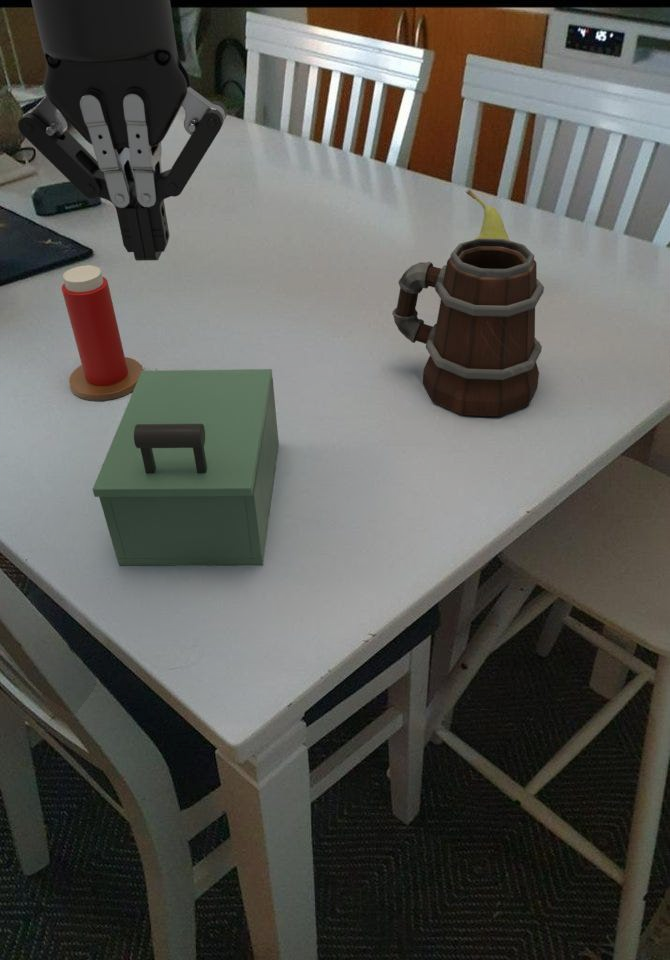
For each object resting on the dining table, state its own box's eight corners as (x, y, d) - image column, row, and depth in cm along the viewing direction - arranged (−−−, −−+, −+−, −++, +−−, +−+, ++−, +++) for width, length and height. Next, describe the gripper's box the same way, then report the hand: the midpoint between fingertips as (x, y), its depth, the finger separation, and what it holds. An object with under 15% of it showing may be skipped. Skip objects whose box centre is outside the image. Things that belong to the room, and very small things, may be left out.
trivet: (81, 409, 86) (79, 402, 85) (62, 374, 91) (61, 368, 91) (153, 387, 88) (152, 381, 88) (131, 355, 94) (130, 349, 93)
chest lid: (252, 496, 61) (245, 442, 58) (94, 497, 62) (79, 444, 59) (272, 376, 75) (268, 327, 72) (142, 377, 75) (133, 329, 72)
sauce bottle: (92, 390, 87) (64, 287, 79) (80, 371, 90) (53, 270, 82) (133, 378, 88) (110, 276, 81) (121, 359, 92) (97, 259, 84)
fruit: (503, 303, 101) (513, 208, 93) (448, 290, 104) (453, 197, 96) (523, 282, 105) (534, 190, 97) (470, 270, 108) (477, 180, 101)
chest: (262, 565, 67) (253, 493, 62) (118, 565, 67) (98, 494, 63) (278, 444, 80) (272, 376, 75) (157, 445, 80) (143, 378, 75)
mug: (546, 369, 89) (566, 238, 79) (517, 429, 80) (536, 290, 71) (411, 342, 94) (415, 216, 84) (371, 396, 86) (371, 263, 76)
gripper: (223, -60, 47) (252, 232, 58) (-3, -52, 47) (68, 235, 58) (203, -42, 41) (239, 279, 52) (-54, -34, 41) (36, 282, 52)
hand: (149, 255), depth 55 cm, fingers closed
